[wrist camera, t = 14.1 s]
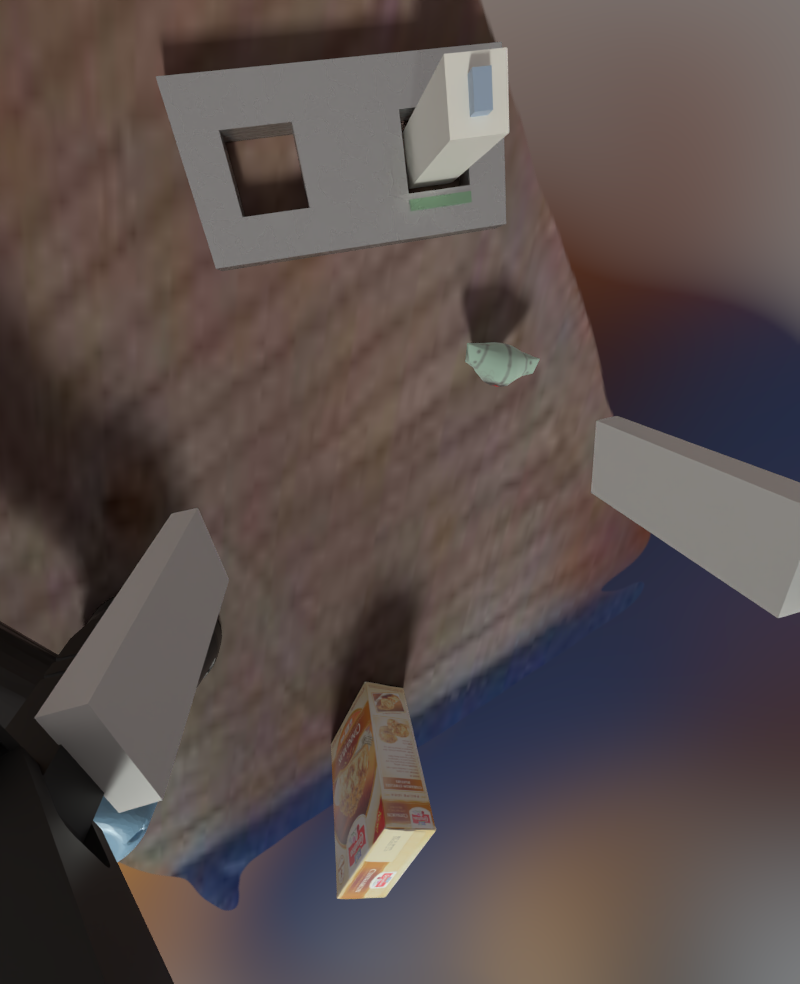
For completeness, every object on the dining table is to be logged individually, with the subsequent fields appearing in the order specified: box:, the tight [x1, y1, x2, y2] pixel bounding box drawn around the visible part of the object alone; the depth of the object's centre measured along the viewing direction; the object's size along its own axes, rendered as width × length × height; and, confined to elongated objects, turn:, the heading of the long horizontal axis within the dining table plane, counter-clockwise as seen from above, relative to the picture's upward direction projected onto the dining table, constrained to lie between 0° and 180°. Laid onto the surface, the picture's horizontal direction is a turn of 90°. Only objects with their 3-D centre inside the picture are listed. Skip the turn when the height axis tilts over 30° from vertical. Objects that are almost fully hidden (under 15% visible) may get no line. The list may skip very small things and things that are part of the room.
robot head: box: [465, 342, 540, 387], centre depth 41 cm, size 8×4×7 cm, turn 78°
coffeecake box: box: [331, 682, 436, 899], centre depth 56 cm, size 15×7×20 cm, turn 154°
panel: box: [156, 42, 506, 271], centre depth 33 cm, size 26×12×3 cm, turn 98°
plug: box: [403, 48, 509, 189], centre depth 30 cm, size 4×4×13 cm
